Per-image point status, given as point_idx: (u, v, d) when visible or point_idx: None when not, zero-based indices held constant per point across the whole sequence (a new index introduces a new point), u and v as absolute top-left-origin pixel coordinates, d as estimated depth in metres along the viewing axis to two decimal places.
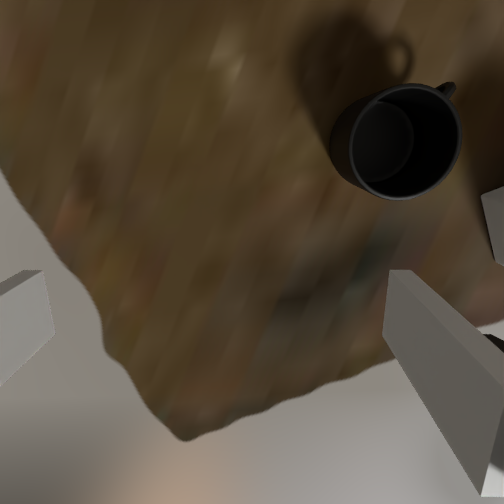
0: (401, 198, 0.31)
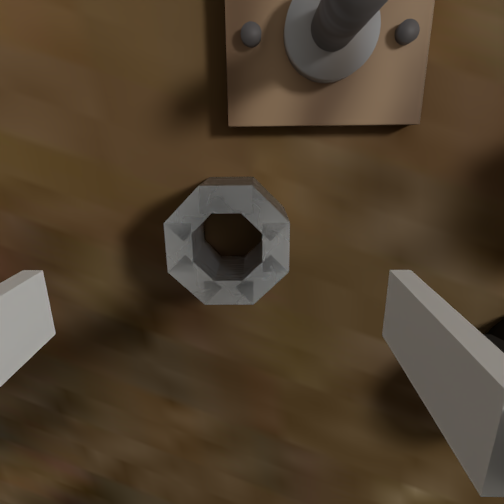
0: None
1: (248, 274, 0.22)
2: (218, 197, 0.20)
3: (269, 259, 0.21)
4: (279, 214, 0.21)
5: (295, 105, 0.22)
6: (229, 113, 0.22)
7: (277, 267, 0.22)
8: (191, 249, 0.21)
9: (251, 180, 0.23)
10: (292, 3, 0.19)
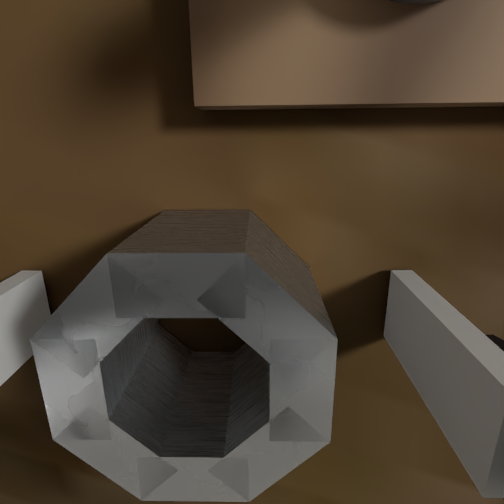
0: None
1: (237, 443, 0.10)
2: (159, 281, 0.08)
3: (286, 417, 0.09)
4: (312, 321, 0.08)
5: (344, 58, 0.10)
6: (195, 76, 0.10)
7: (304, 432, 0.09)
8: (102, 394, 0.09)
9: (245, 225, 0.10)
10: None
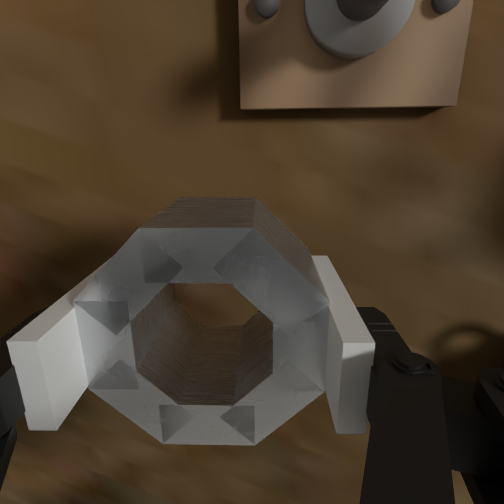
0: None
1: (245, 393, 0.11)
2: (181, 251, 0.10)
3: (287, 370, 0.11)
4: (309, 286, 0.10)
5: (315, 84, 0.20)
6: (241, 94, 0.20)
7: (302, 383, 0.11)
8: (131, 349, 0.11)
9: (252, 208, 0.12)
10: None
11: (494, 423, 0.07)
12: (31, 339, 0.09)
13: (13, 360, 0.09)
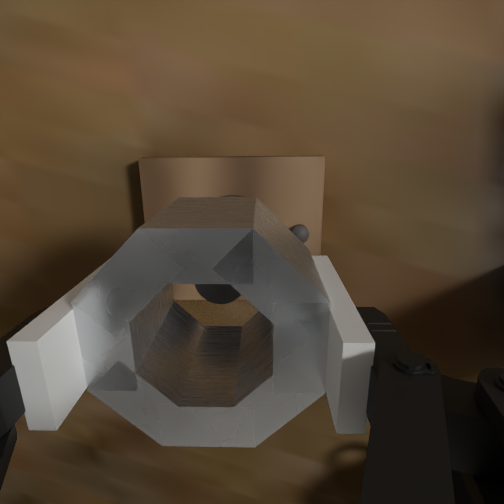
0: None
1: (245, 395, 0.11)
2: (181, 252, 0.10)
3: (287, 371, 0.11)
4: (309, 287, 0.10)
5: None
6: None
7: (302, 385, 0.11)
8: (130, 350, 0.11)
9: (252, 208, 0.12)
10: None
11: (494, 423, 0.07)
12: (31, 339, 0.09)
13: (13, 360, 0.09)
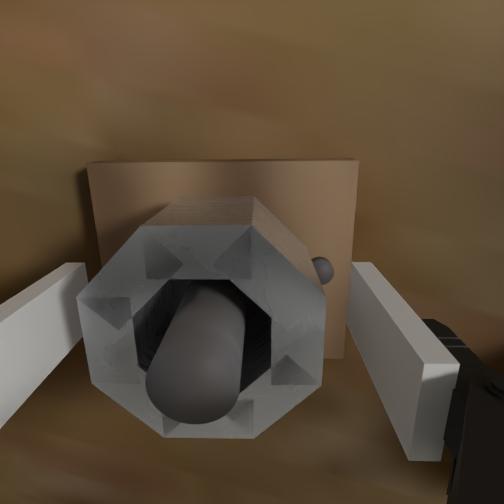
0: None
1: (244, 387, 0.12)
2: (182, 248, 0.10)
3: (285, 364, 0.11)
4: (306, 281, 0.10)
5: None
6: None
7: (300, 377, 0.11)
8: (133, 344, 0.11)
9: (250, 207, 0.12)
10: None
11: None
12: None
13: None
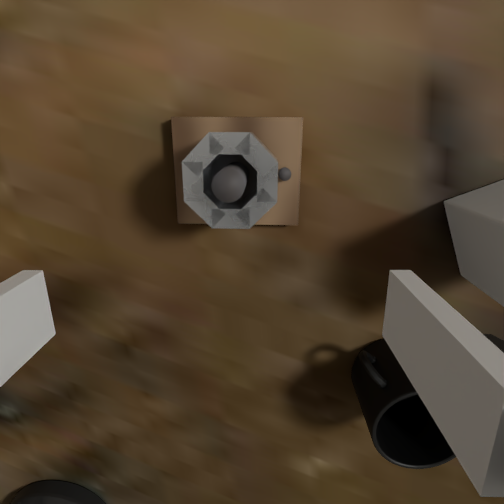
0: None
1: (246, 204, 0.28)
2: (223, 141, 0.27)
3: (262, 192, 0.28)
4: (270, 155, 0.27)
5: None
6: (178, 216, 0.35)
7: (268, 198, 0.28)
8: (202, 183, 0.28)
9: (250, 132, 0.29)
10: None
11: None
12: None
13: None
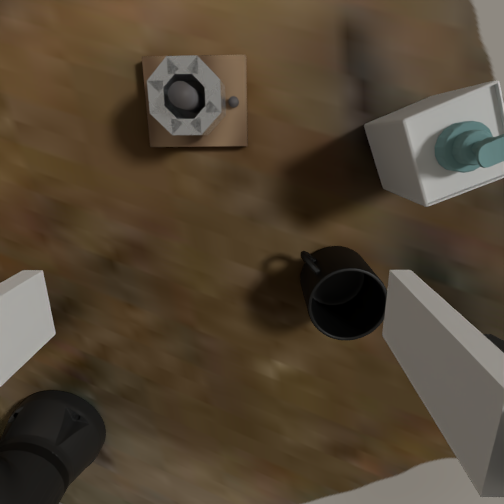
0: None
1: None
2: (178, 63, 0.35)
3: (209, 104, 0.36)
4: (213, 74, 0.35)
5: (183, 136, 0.43)
6: (150, 140, 0.44)
7: (214, 109, 0.36)
8: (163, 97, 0.36)
9: None
10: None
11: None
12: None
13: None
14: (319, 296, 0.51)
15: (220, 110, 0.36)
